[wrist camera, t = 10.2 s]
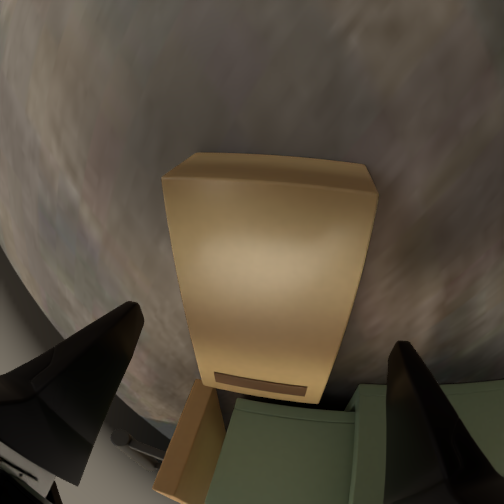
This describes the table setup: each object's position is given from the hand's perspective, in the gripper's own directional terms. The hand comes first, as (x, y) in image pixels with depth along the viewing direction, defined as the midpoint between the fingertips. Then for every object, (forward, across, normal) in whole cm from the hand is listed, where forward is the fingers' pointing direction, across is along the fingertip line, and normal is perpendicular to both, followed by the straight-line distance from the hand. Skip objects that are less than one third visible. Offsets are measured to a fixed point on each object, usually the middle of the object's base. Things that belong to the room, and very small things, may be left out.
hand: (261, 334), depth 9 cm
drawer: (+2, -1, +14) cm, 14 cm away
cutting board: (+3, 0, 0) cm, 3 cm away
